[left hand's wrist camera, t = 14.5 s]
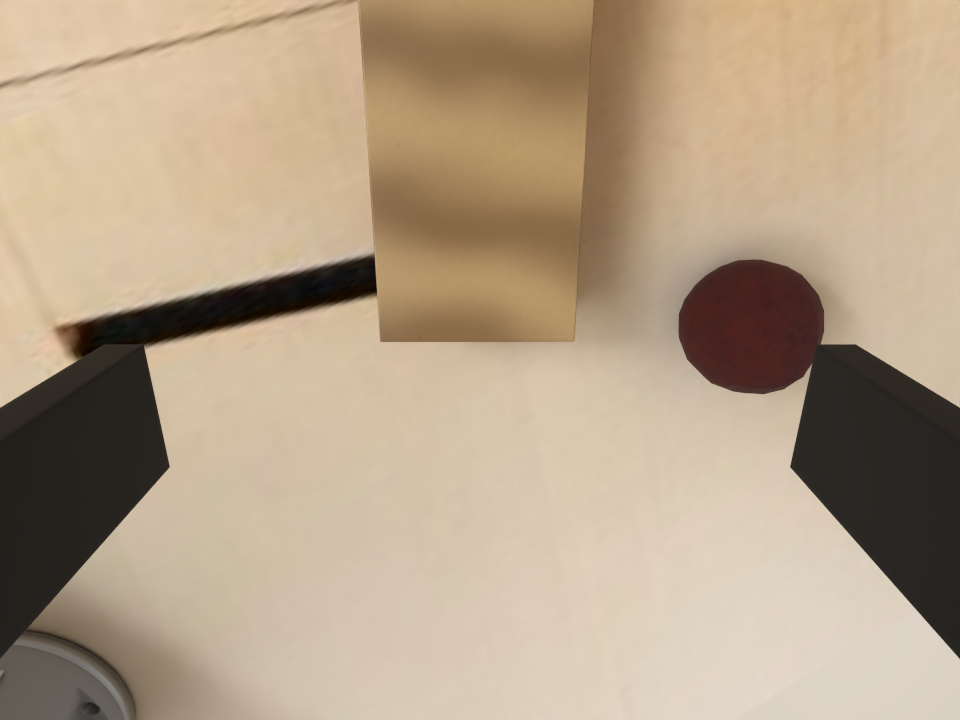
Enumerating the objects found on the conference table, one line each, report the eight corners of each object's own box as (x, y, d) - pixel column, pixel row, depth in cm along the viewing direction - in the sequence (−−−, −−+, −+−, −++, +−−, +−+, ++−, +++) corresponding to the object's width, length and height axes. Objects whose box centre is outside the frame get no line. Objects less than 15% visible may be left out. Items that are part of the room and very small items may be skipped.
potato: (786, 238, 36) (853, 265, 30) (784, 359, 39) (846, 407, 33) (661, 259, 37) (700, 290, 30) (668, 376, 40) (705, 428, 33)
